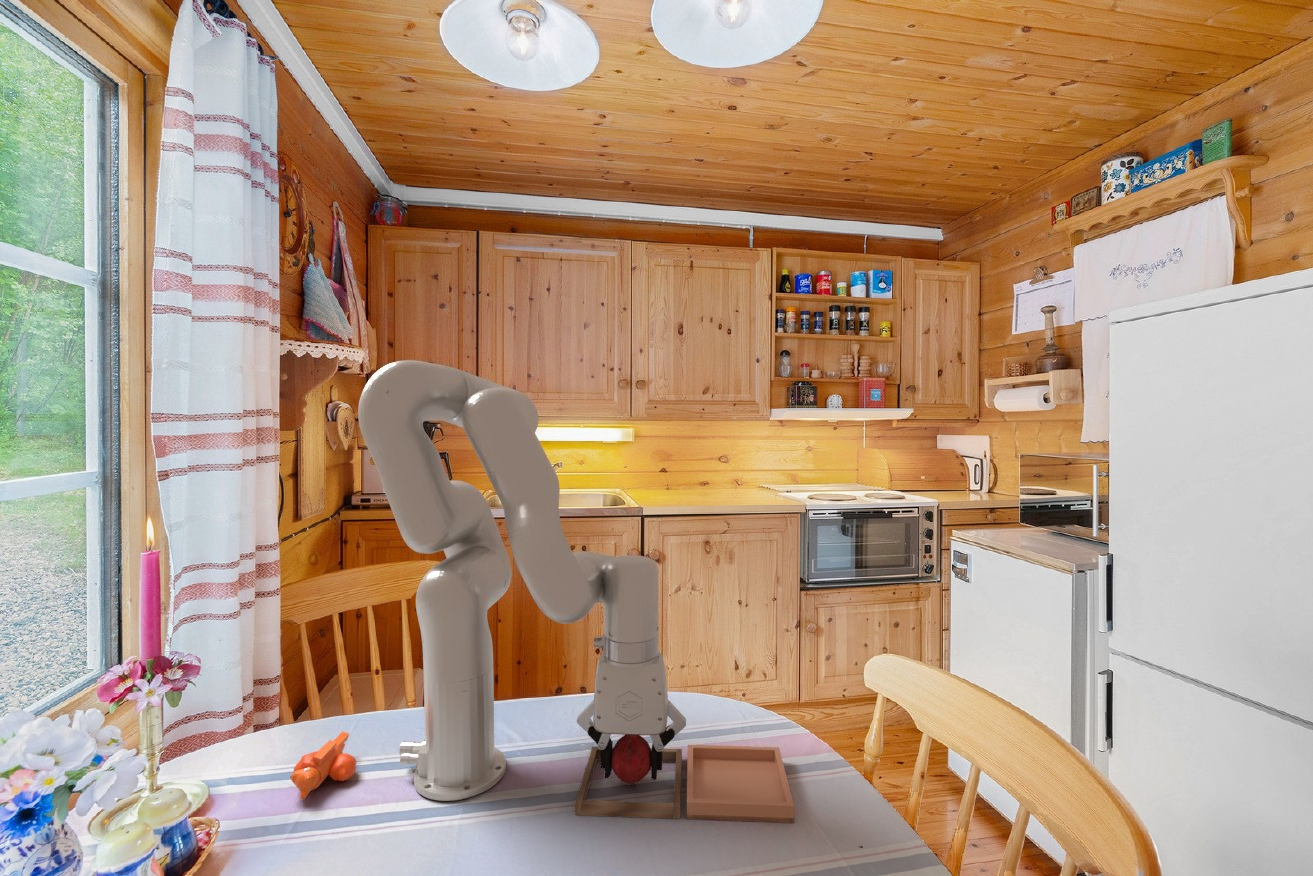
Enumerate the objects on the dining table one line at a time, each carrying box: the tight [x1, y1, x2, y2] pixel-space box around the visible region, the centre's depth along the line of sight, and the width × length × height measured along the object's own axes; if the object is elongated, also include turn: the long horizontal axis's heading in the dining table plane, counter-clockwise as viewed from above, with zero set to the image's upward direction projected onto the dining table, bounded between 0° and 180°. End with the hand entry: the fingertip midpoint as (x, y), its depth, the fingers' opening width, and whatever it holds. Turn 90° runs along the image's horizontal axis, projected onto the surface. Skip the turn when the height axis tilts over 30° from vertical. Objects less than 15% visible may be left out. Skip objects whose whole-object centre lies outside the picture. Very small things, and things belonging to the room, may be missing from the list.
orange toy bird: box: [289, 731, 357, 800], centre depth 86 cm, size 5×8×12 cm
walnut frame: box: [574, 745, 683, 820], centre depth 85 cm, size 14×14×2 cm
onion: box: [611, 735, 651, 786], centre depth 85 cm, size 6×6×8 cm
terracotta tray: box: [686, 744, 795, 824], centre depth 84 cm, size 14×14×2 cm
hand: (631, 772), depth 85 cm, fingers closed on onion, 5 cm apart
